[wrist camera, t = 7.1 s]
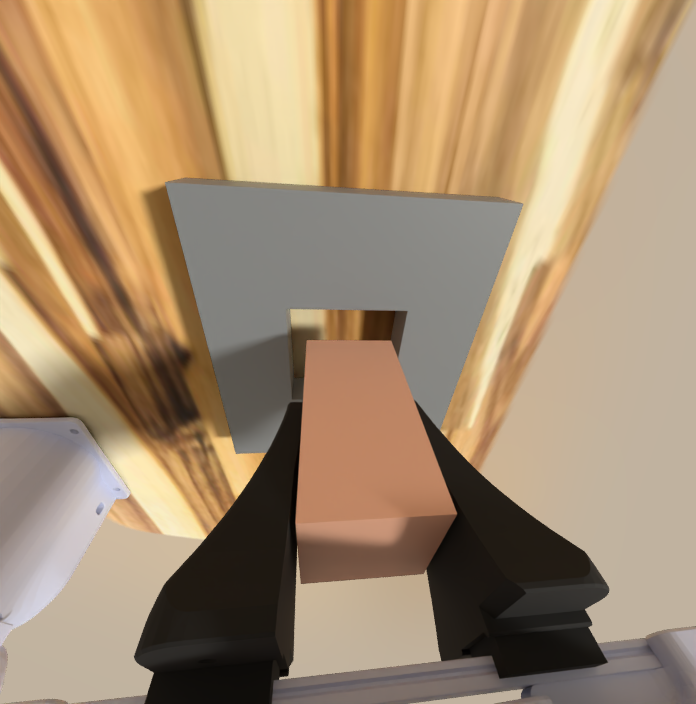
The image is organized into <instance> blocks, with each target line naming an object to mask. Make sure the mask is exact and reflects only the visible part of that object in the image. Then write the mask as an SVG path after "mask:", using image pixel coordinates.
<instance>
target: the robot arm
mask: <svg viewBox="0 0 696 704" xmlns="http://www.w3.org/2000/svg"><path fill="white" fill-rule="evenodd" d="M414 402H415V404H416V407H417V410H418V412H419V415H420V417H421V420H422V423H423V425H424V428H425V431H426V433H427V436H428V438H429V441H430V444H431V446H432V449H433V452H434V454H435V457H436V460H437V462H438V465H439V467H440V470H441V473H442V475H443V478H444V481H445V483H446V486H447V488H448V491H449V494H450V496H451V499H452V502H453V504H454V507H455V510H456V512H457V515H456V517H455V519H454V521H453V523H452V524H451V526H450V528H449V530H448V531H447V533H446V535H445V537H444V538H443V540H442V542H441V544H440V546H439V547H438V549H437V551H436V553H435V554H434V556H433V558H432V560H431V561H430V563H429V565H428V567H427V568H426V570H427V575H428V581H429V587H430V593H431V598H432V605H433V612H434V619H435V625H436V632H437V639H438V647H439V652H440V656H441V661H440V662H431V663H422V664H414V665H405V666H396V667H387V668H379V669H370V670H361V671H353V672H344V673H335V674H326V675H317V676H309V677H301V678H291V679H283V680H279V677H284V676H288V674H289V666H290V665H291V663H292V661H293V651H294V619H295V590H296V565H297V535H296V507H297V491H298V475H299V458H300V442H301V425H302V409H303V402H290V403H289V404H288V406H287V410H286V413H285V415H284V418H283V420H282V423H281V425H280V427H279V430H278V432H277V434H276V436H275V438H274V440H273V442H272V444H271V446H270V448H269V449H268V451H267V453H266V455H265V456H264V458H263V460H262V462H261V463H260V465H259V467H258V468H257V470H256V472H255V473H254V475H253V476H252V478H251V480H250V481H249V482H248V484H247V485H246V487H245V488H244V490H243V491H242V493H241V494H240V495H239V497H238V498H237V500H236V501H235V502H234V504H233V505H232V506H231V508H230V509H229V510H228V512H227V513H226V514H225V516H224V517H223V518H222V519H221V521H220V522H219V523H218V524H217V525H216V527H215V528H214V529H213V530H212V531H211V533H210V534H209V535H208V536H207V537H206V539H205V540H204V541H203V542H202V543H201V545H200V546H199V547H198V548H197V549H196V550H195V551H194V553H193V554H192V555H191V556H190V557H189V558H188V559H187V560H186V561H185V562H184V563H183V565H182V566H181V567H180V568H179V569H178V570H177V571H176V572H175V573H174V574H173V575H172V576H171V577H170V578H169V580H168V581H167V582H166V583H165V585H164V586H163V588H162V590H161V592H160V594H159V596H158V597H157V599H156V602H155V604H154V606H153V608H152V610H151V612H150V614H149V616H148V619H147V621H146V624H145V627H144V629H143V633H142V635H141V638H140V641H139V644H138V647H137V649H136V653H135V656H134V658H135V660H136V662H137V663H138V664H139V665H141V666H143V667H145V668H147V669H149V670H150V671H152V672H154V675H153V678H152V681H151V684H150V687H149V690H148V694H147V695H144V696H134V697H126V698H117V699H108V700H99V701H91V702H82V703H73V704H409V703H416V702H425V701H432V700H440V699H447V698H456V697H464V696H471V695H479V694H487V693H495V692H502V691H510V690H517V689H523V691H522V693H521V699H518V700H512V701H507V702H502V703H496V704H696V626H693V627H684V628H675V629H667V630H662V631H658V632H655V633H652V634H650V635H647V636H646V638H640V639H632V640H623V641H614V642H606V643H597V642H596V640H595V638H594V637H593V635H592V633H591V631H590V629H589V628H588V627H590V626H592V622H591V619H590V618H589V616H588V614H587V613H586V611H585V609H586V608H588V607H589V606H591V605H593V604H595V603H596V602H598V601H600V600H602V599H603V598H605V597H606V596H607V594H608V593H609V587H608V585H607V584H606V582H605V580H604V579H603V577H602V576H601V574H600V573H599V572H598V570H597V568H596V567H595V565H594V564H593V562H592V561H591V560H590V558H589V557H588V555H587V554H586V553H585V552H584V551H583V550H581V549H580V548H578V547H577V546H575V545H574V544H572V543H571V542H569V541H568V540H566V539H565V538H563V537H562V536H560V535H558V534H557V533H555V532H554V531H552V530H551V529H549V528H548V527H547V526H545V525H544V524H542V523H541V522H540V521H538V520H536V519H535V518H534V517H533V516H531V515H530V514H529V513H527V512H526V511H525V510H523V509H522V508H521V507H519V506H518V505H517V504H516V503H514V502H513V501H512V500H511V499H509V498H508V497H507V496H506V495H504V494H503V493H502V492H501V491H499V490H498V489H497V488H496V487H495V486H494V485H492V484H491V483H490V482H489V481H488V480H487V479H485V477H484V476H482V475H481V474H480V473H479V472H478V471H477V470H476V469H475V468H474V467H473V466H472V465H471V464H470V463H469V462H468V461H467V460H466V459H465V458H464V457H463V456H462V455H461V454H460V453H459V452H458V451H457V450H456V448H455V447H454V446H453V445H452V444H451V443H450V442H449V441H448V439H447V438H446V437H445V436H444V435H443V434H442V433H441V431H440V430H439V429H438V428H437V427H436V425H435V424H434V423H433V422H432V420H431V419H430V418H429V417H428V415H427V414H426V413H425V412H424V410H423V409H422V408H421V407H420V405H419V404H418V403H417V402H416V401H415V400H414ZM129 495H130V491H129V489H128V488H127V486H126V485H125V483H124V482H123V480H122V479H121V477H120V476H119V475H118V473H117V472H116V470H115V469H114V467H113V466H112V464H111V463H110V461H109V460H108V459H107V457H106V456H105V454H104V453H103V451H102V450H101V448H100V447H99V445H98V444H97V443H96V441H95V440H94V438H93V437H92V435H91V434H90V432H89V431H88V429H87V428H86V427H85V425H84V424H83V422H82V421H81V420H79V419H77V418H73V417H65V418H16V419H0V693H1V690H2V687H3V683H4V677H5V673H6V668H7V660H8V659H7V658H8V656H7V655H8V654H7V651H6V649H5V647H4V646H3V645H2V644H3V642H4V640H5V639H6V637H7V636H8V634H9V633H10V631H11V630H13V629H15V628H17V627H18V626H20V625H22V624H24V623H25V622H27V621H29V620H30V619H31V618H33V617H34V616H35V615H37V614H38V613H39V612H40V611H41V610H42V609H43V608H45V607H46V606H47V605H48V604H49V603H50V602H51V601H52V600H53V599H54V598H55V597H56V596H57V595H58V594H59V592H60V591H61V590H62V589H63V588H64V586H65V585H66V584H67V582H68V581H69V579H70V578H71V576H72V574H73V573H74V571H75V569H76V567H77V565H78V564H79V562H80V561H81V559H82V557H83V555H84V554H85V552H86V550H87V548H88V547H89V545H90V543H91V542H92V540H93V538H94V536H95V535H96V533H97V531H98V529H99V528H100V526H101V524H102V522H103V521H104V519H105V517H106V516H107V514H108V512H109V510H110V509H111V507H112V505H113V503H114V502H115V500H116V499H126V498H128V496H129ZM6 704H68V703H67V702H66V701H63V700H58V699H43V700H32V701H24V702H15V703H6Z"/></svg>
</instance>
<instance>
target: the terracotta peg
mask: <svg viewBox="0 0 696 704" xmlns="http://www.w3.org/2000/svg"><path fill="white" fill-rule="evenodd" d="M456 515H457V512H456V510H455V507H454V504H453V502H452V499H451V496H450V494H449V491H448V488H447V486H446V483H445V481H444V478H443V475H442V473H441V470H440V467H439V465H438V462H437V460H436V457H435V454H434V452H433V449H432V446H431V444H430V441H429V438H428V436H427V433H426V431H425V428H424V425H423V423H422V420H421V417H420V415H419V412H418V410H417V407H416V404H415V402H414V399H413V396H412V394H411V391H410V389H409V386H408V383H407V381H406V378H405V375H404V373H403V370H402V367H401V365H400V362H399V360H398V357H397V354H396V352H395V349H394V346H393V344H392V341H367V340H307V344H306V360H305V376H304V393H303V409H302V425H301V442H300V458H299V475H298V491H297V507H296V535H297V546H298V557H299V568H300V578H301V584H306V583H318V582H331V581H343V580H355V579H366V578H367V579H368V578H379V577H391V576H405V575H417V574H424V572H425V570H426V568H427V567H428V565H429V563H430V561H431V560H432V558H433V556H434V554H435V553H436V551H437V549H438V547H439V546H440V544H441V542H442V540H443V538H444V537H445V535H446V533H447V531H448V530H449V528H450V526H451V524H452V523H453V521H454V519H455V517H456Z"/></svg>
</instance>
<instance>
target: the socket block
mask: <svg viewBox="0 0 696 704" xmlns="http://www.w3.org/2000/svg"><path fill="white" fill-rule="evenodd" d="M165 185H166V188H167V192H168V196H169V200H170V204H171V208H172V211H173V215H174V219H175V223H176V227H177V231H178V234H179V238H180V242H181V246H182V250H183V253H184V257H185V261H186V265H187V269H188V273H189V276H190V280H191V284H192V288H193V292H194V295H195V299H196V303H197V307H198V311H199V315H200V318H201V322H202V326H203V330H204V334H205V337H206V341H207V345H208V349H209V353H210V357H211V360H212V364H213V368H214V372H215V376H216V379H217V383H218V387H219V391H220V395H221V399H222V402H223V406H224V410H225V414H226V418H227V421H228V425H229V429H230V433H231V437H232V441H233V444H234V448H235V452H236V454H240V453H267V451H268V449H269V448H270V446H271V444H272V442H273V440H274V438H275V436H276V434H277V432H278V430H279V427H280V425H281V423H282V420H283V418H284V415H285V413H286V410H287V406H288V404H289V403H290V402H303V393H304V378H294V368H293V351H292V334H291V317H290V309H330V310H388V311H396V312H395V318H394V324H393V329H392V335H391V341H392V344H393V346H394V349H395V352H396V354H397V357H398V360H399V362H400V365H401V367H402V370H403V373H404V375H405V378H406V381H407V383H408V386H409V389H410V391H411V394H412V396H413V399H414V400H415V401H416V402H417V403H418V404H419V405H420V407H421V408H422V409H423V410H424V412H425V413H426V414H427V415H428V417H429V418H430V419H431V420H432V422H433V423H434V424H435V425H436V427H437V428H438V429H439V430H440V428H441V426H442V423H443V420H444V418H445V415H446V412H447V409H448V407H449V404H450V401H451V399H452V396H453V393H454V390H455V388H456V385H457V382H458V380H459V377H460V374H461V372H462V369H463V366H464V363H465V361H466V358H467V355H468V353H469V350H470V347H471V344H472V342H473V339H474V336H475V334H476V331H477V328H478V326H479V323H480V320H481V317H482V315H483V312H484V309H485V307H486V304H487V301H488V298H489V296H490V293H491V290H492V288H493V285H494V282H495V280H496V277H497V274H498V271H499V269H500V266H501V263H502V261H503V258H504V255H505V252H506V250H507V247H508V244H509V242H510V239H511V236H512V234H513V231H514V228H515V225H516V223H517V220H518V217H519V215H520V212H521V209H522V206H523V204H522V203H518V202H515V201H511V200H507V199H503V198H499V197H486V196H470V195H454V194H438V193H422V192H406V191H389V190H373V189H357V188H341V187H325V186H309V185H293V184H277V183H261V182H245V181H229V180H213V179H197V178H182V179H178V180H173V181H168V182H165Z"/></svg>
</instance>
